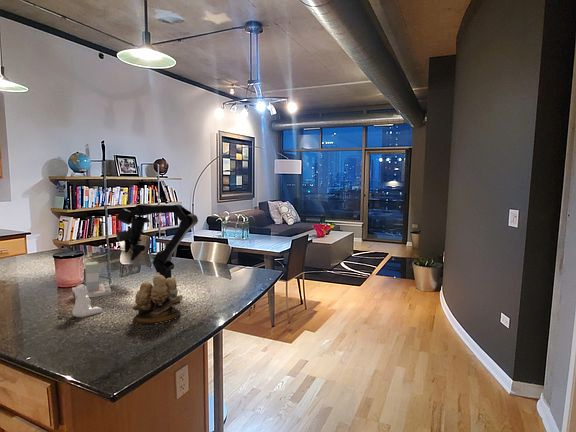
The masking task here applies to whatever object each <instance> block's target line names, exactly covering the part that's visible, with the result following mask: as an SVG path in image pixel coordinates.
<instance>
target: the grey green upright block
mask: <svg viewBox="0 0 576 432" xmlns="http://www.w3.org/2000/svg"><path fill="white" fill-rule="evenodd" d="M99 265H100V264H99V261H89V262H85V282H86V283H85V286H86V289H87V290H88V291H94V290H99V285H100V271H99V268H100V266H99Z"/></svg>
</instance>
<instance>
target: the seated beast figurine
mask: <svg viewBox="0 0 576 432" xmlns="http://www.w3.org/2000/svg"><path fill="white" fill-rule="evenodd" d="M85 286H86V285H84V284H82V283H81V284H78V285H77V286H75V287H71V289H72V290H71V291H72V292H73V294H74V295H75V294H76V295H77V296H78V297H77V299H75V303H74V305H73V308H72V311H71V313H72V314H73V316H74V317H75V318H85V317H90V316H93V315H97V314H101V313H102V312H103V309H102V307H101V306H97V305H96V306H94V307H92V305H91V302H92V300H91V299H90V297H89V296H88V295H87V294H88V290H87V289H86V287H85Z"/></svg>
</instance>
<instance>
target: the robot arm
mask: <svg viewBox="0 0 576 432" xmlns="http://www.w3.org/2000/svg"><path fill="white" fill-rule="evenodd" d="M166 213H167V214H169V213H170V214H171V213H172V214H175V216H176V218H177V219H178V220H179V226H178V229H177V231H176V232H175V233H174V235H172V236H173V237H171V240H170V241H169V242H168V244H167V245H166V247H165V248H164V249H163V250H160V251H158V252H157V253H156V254H155V256H154V257H153V261H152V265H153V267H154V268H155V271H156V273H158V274H159V275H163V276H164V277H165V278H166V279H167V278H172V270H174V268H175V264H174V262H172V257H173V253H174V252H175V250H176V249H177V248H178V246H179V245H180V243H181V242H182V241H183V239H184V238H185V236H186V234H187V233H188V232H189V231H191V230H192V229H193V228H194V227H195V226H196V225H197V224H198V222H199V220H198V216H197V215H196V214H195V213H192V212H191V211H190V210H188V209H187V208H185V207H184V206H183V205H181V204H180V203H179V204H167V205H166V204H165V205H163V204H162V205H153V204H149V203H143V204H136V205H135V207H134V209H132V210H128V209H127V208H122V209H121V210H120V211H119V212H118V214H117V215H116V220H117V221H118V222H120V223H123V224H125V225H127V226H129V225H130V227H128V229H127V230H123V231H117V232H116V233H115V234H116V240H117V241H118V242H119V243H121V242H124V253H125V254H127V253H129V251H130V250H131V256H130V261H134V260H135V259H136V258H137V257H138V256H139V255H140V254H141V253H142V252H145V251H146V249H147V247H146V245H145V244H144V243H143V242H142V239H141V238H142V235H144V233H145V232H144V231H143V230H144V227H145V225H146V224H147V223H150V222H151V221H150V219H149V218H148V215H153V214H166ZM144 216H146V217H144ZM145 223H146V224H145Z"/></svg>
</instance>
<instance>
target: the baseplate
mask: <svg viewBox="0 0 576 432" xmlns="http://www.w3.org/2000/svg"><path fill="white" fill-rule="evenodd" d="M84 286H85V287H86V285H84ZM87 295H88V296H89V298H94V297H101V296H108V295H112V288H111V286H110V283H108V282H104V283H101V284H100V283H99V290H94V291H88V294H87ZM77 297H78V296H77V295H76V294H75V293H74V299H75V300H76V299H77Z"/></svg>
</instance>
